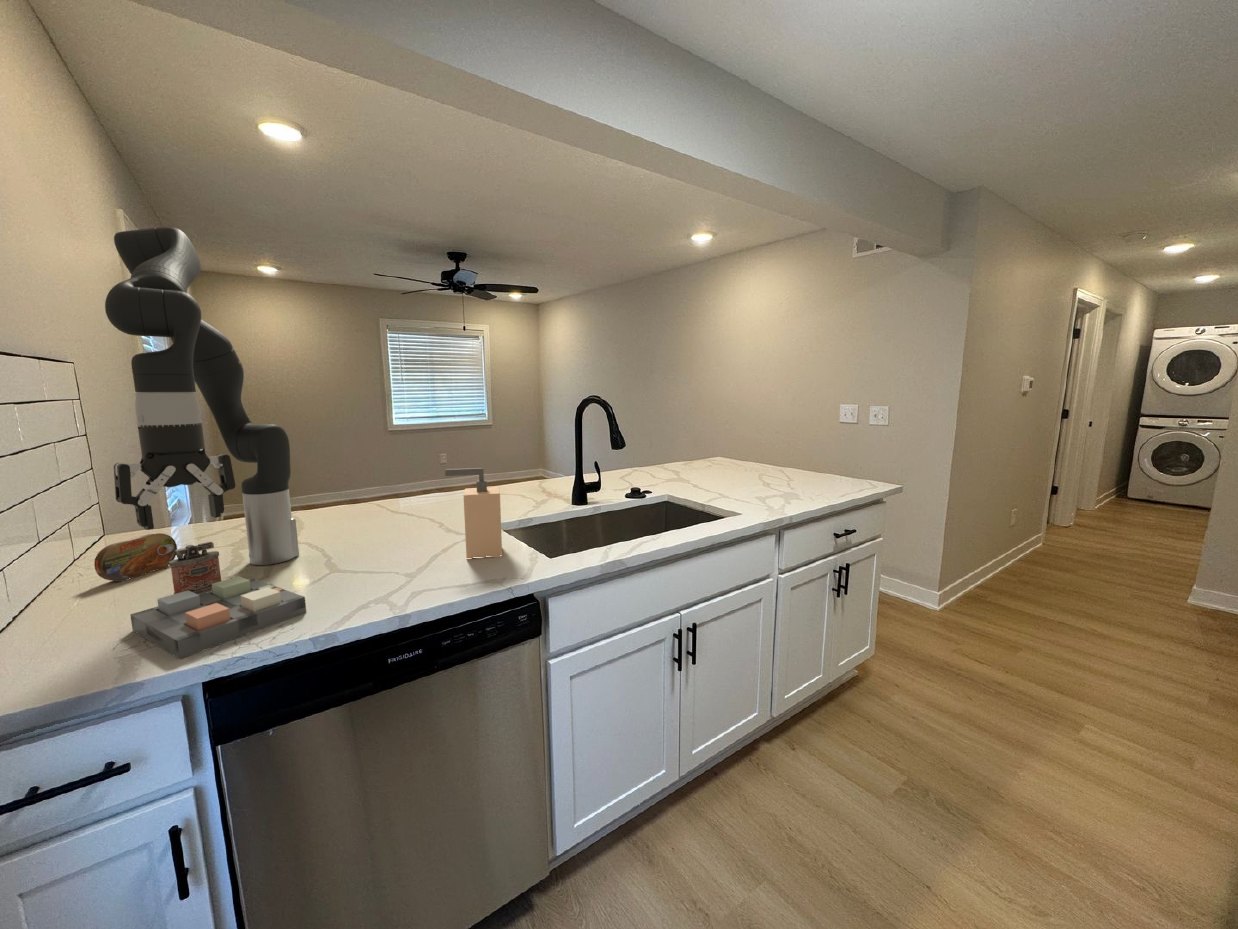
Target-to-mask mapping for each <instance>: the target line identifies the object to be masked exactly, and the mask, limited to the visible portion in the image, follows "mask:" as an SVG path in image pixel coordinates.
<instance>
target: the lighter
mask: <svg viewBox="0 0 1238 929" xmlns="http://www.w3.org/2000/svg"><path fill="white" fill-rule="evenodd" d="M214 543H215V542H213V541H206V542H202V543H198V544H197V545H194V544H187V545H185V547H182V548H177V550H175V551H176V557H177V558H176V559H175V558H174V560H172V561H170V562H169V565H168V566H169V567H170V571H171V577H172V584H173V591H174V592H173V594H177V593H180V592H184V591H187V590H189V591H191V592H193V593H195V594H198V595H199V594H202V593H206V592H209V591H212V583H216V582H220V581H222V576H221V567H220V559H219V557H220V552H219V551H217V550H215V551H213V550H212V551H207V550H210V549H213V548H215V546H214ZM200 552H201V553H200Z"/></svg>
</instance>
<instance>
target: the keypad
mask: <svg viewBox="0 0 1238 929" xmlns="http://www.w3.org/2000/svg"><path fill="white" fill-rule="evenodd" d="M249 580H250V588H251V591H248V592H244V593H241V594H238V595H235V596H231V597H228V598H225V599H221V598H219V597H216V596H214V595H213V591H209V592H205V593H202V594H198V595H199V598H200V605H201V606H199V607H196V608H192V609H189V610H186V611H182V612H179V613H176V614H173V615H169V616H166V615H164V614H163V613H161V612H159V607H158V606H155V607H152V608H148V609H145V610H141V611H138V612H134V613H130V622H131V628H132V631H133V632H134V633H136V632H137V633H138V635H139V636H141V637H143V638H144V639H146V640H147V641H149V642H151V643H152V644H154V645H156V646H157V647H159V648H161V649H162V650H163V651H166V652H167V651H168V652H167V653H169V654H171V655H172V656H174V657H176V658H177V659H179V660H181V659H184V658H187V657H189V656H192V655H195V654H197V653H201V652H204V651H205V650H208V649H211V648H214V647H216V646H220V645H221V644H225V643H228V642H230V641H232V640H234V639H238V638H240V637H243V636H245V635H249V634H252V633H254V632H257V631H259V630H262V629H265V628H267V627H271V626H273V625H275V624H278V623H281V622H283V621H286V620H289V619H292V618H295V617H297V616H299V615H301V614H302V613H303V614H305V613H307V605H306V597H305V596H303V595H301V594H297V593H295V592H292V591H290V590H286V589H284V588H282V587H278V586H276V585H273V584H270V583H267V582H265V581H262V580H259V579H257V578H250V579H249ZM266 587H269V588H271V589H274V590H277V591H279V592H280V594H281V603H278V604H275V605H273V606H270V607H267V608H264V609H261V610H258V611H255V612H251V611H249V610H247V609H244V608H242V603H241V595H244V594H247V593H250V592H253V591H257V590H260V589H263V588H266ZM215 603H218V604H220V605H223V606H225V607H227V608H229V611H230V620H229V621H226V622H223V623H220V624H217V625H214V626H211V627H208V628H205V629H202V630H199V631H195V630H193V629H191V628H189V627H187V623H186V616H185V613H186V612H189V611H192V610H195V609H199V608H202V607H205V606H208V605H211V604H215ZM303 614H302V615H303ZM137 633H136V634H137Z"/></svg>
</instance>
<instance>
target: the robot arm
mask: <svg viewBox="0 0 1238 929" xmlns="http://www.w3.org/2000/svg"><path fill="white" fill-rule="evenodd" d="M113 241H114V242H113V243H114V245H115V249H116V251H117V253H118V256H119V257H120V258H121V260H122V263H123V264H124V266H125V268H126V269H127V270H128V271H129V274H130V275H131V276H130V278H128V279H126V280H123V281H121V282H119V283H117V284H115V285H114V286H113V287H111V289H110V290H109V292H108V293H107V295H106V297H105V301H104V310H105V315H106V317H107V320H108V321H109V323H111V325H112V326H113V327H114V328H115V329H117V330H118V331H119V332H122V333H124V334H126V335H130V336H135V337H137V336H138V337H159V338H170V340H171V341H172V344H171V345H170V346H169V347H168V348H165V349H162V350H156V351H148V352H141V353H140V352H139V353H137V354H135V355H133V356H132V358H131V365H130V366H131V373H132V378H133V384H134V385H133V386H134V390H135V395H134V396H135V403H134V407H135V409H134V410H135V418H136V424H137V430H138V439H139V444H140V452H141V453H140V454H141V459H140V461H139V463H138V462H136V463H122V462H117V463H115V464H113V476H114V477H113V478H114V491H115V492H114V494H115V496H114V497H115V501H116V502H118V503H121V504H123V505H131V506H134V509H135V516H136V523H137V524H138V526H140V527H142V528H143V529H144V530H146V531H147V530H148V531H149V530H154V528H155V526H154V518H153V511H152V505H151V504H149V503H150V502H151V500H152V499H153V498H154V497H155V495H156V494H158V493H159V492H160V491H161V489H162V488H164V487H166V488H175V487H178V486H182V485H183V486H191V485H194V484H195V483H197V484H198V485H199V486H201V487H202V488H203V489H205V490H206V491H207V492H209V494H208V495H207V497H208V505H209V513H210V516H211V518H213V519H215V518H221V516H222V514H224V512H225V504H224V503H225V502H224V493H225V492H228V491H230V490H233V489H235V488H236V481H235V475H234V470H233V466H232V465H233V464H232V459H231V456H232V457H233V458H234V459H235V460H237V461H239V462H243V463H248V464H249V463H254V464H256V465H257V468H256V473H255V474H254V475H252V476H251V477H248V478H245V479H243V481H242V482H241V494H242V496H241V497H242V503H243V512H244V520H245V529H246V530H245V531H246V537H247V538H246V539H247V540H246V541H247V548H248V558H249V563H250V565H254V566H269V565H275V564H280V563H284V562H286V561H290V560H292V559H294V558H295V557H298V556H300V549H299V547H300V546H299V541H298V540H299V539H298V530H297V529H298V528H297V519H295V517H292V507H291V499H290V498H291V497H290V489H289V486H290V485H289V482H290V478H291V470H292V469H291V449H290V448H291V446H290V440H289V436H288V434H287V432H286V431H285V429H284V428H283V427H282V426H280V425H277V424H273V423H272V424H269V423H263V424H262V423H253V422H252V420H251V419H250V418H249V416H248V415H247V413H246V410H245V408H244V406H243V403H242V391H243V387H244V379H245V376H244V375H245V373H244V368H243V365H242V362H241V360H240V358H239V356H238V354H237V352H236V351H235V349H234V346H233V344H232V343H231V341H230V339H229V338H228V337H227V336H226V335H224V333H222V332H221V331H219V330H218V329H216V328H215V327H213V326H212V325H211V324H209V323H208V322H206V321H204V320H203V319H202V310H201V307H200V305H199V302H197V300H196V299H195V298H194V297H193V296H192V295H190V294H189V293H188V288H189V287H190V286H191V285H192V283H193V282H194V281H195V280H196V278H198V276H199V275H200V273H201V269H202V268H201V267H202V266H201V261H200V258H199V255H198V253H197V250H196V248H195V246H194V244H193V243H192V241H191V240H190V238H189V237H188V235H187V234H186V233H185V232H183V231H182V230H181V229H180V228H177V227H172V226H158V227H150V228H143V229H142V228H141V229H140V228H139V229H134V230H133V229H131V230H125V231H118V232H115V234H114V236H113ZM196 385H197V386H196ZM196 387H198V389H199V391H200V393H201V394H202V397H203V399H204V401H205V403H206V405H207V406H208V408H209V410H210V412H211V414H212V416H213V417H214V421H215V422H216V425H217V428H218V430H219V432H220V434H221V437H222V439H223V442H224V444H225V446H226V448H227V450H228V452H229V453H230V454H231V456H230V455H228V454H224V453H217V454H216V455H213V456H212V455H211V456H208V455H207V453H206V446H205V439H204V431H203V430H204V429H203V422H202V420H203V415H202V413H201V412H202V411H201V406H200V403H199V399H198V397H197V391H196V390H197V389H196ZM210 465H212V466H213V467H214V468H216V469H217V471H218V477H219V482H220V483H219V484H217V483H216V482H215V481H214V480H213V479H212V478H211V477H209V476H208V475H207V474H206V473H205V471H206V470H207V469H208V467H209V466H210ZM138 471H141V472H142V473H144V475H146V476H147V479H146V480H145V481H144V483H143V484H142V485H141V487H140V490H138V492H137V493H136V495H132V494H133V493H132V478H134V477H136V475H137V472H138Z"/></svg>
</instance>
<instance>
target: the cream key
mask: <svg viewBox="0 0 1238 929" xmlns="http://www.w3.org/2000/svg"><path fill="white" fill-rule="evenodd" d="M241 603H242V608H244V609H247V610H249V611H251V612H255V611H258V610H261V609H264V608H267V607H270V606H273V605H275V604H278V603H281V594H280V592H279V591H277V590H274V589H271V588H269V587H266V588H263V589H260V590H257V591H253V592H250V593H247V594H244V595H241Z"/></svg>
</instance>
